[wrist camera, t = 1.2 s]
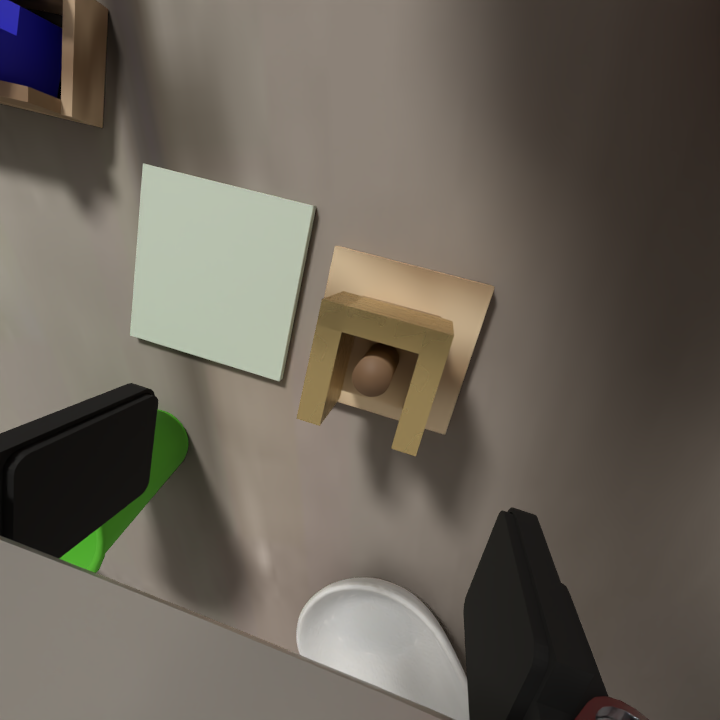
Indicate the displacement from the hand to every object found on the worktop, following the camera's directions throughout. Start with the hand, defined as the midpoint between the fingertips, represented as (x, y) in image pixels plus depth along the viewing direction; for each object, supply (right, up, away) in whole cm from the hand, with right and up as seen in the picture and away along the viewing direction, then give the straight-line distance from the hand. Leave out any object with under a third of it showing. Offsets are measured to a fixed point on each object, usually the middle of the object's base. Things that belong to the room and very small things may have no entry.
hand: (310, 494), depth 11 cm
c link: (+3, +4, +12) cm, 13 cm away
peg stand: (+4, +5, +17) cm, 18 cm away
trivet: (-9, +9, +18) cm, 22 cm away
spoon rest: (+8, -20, +23) cm, 32 cm away
